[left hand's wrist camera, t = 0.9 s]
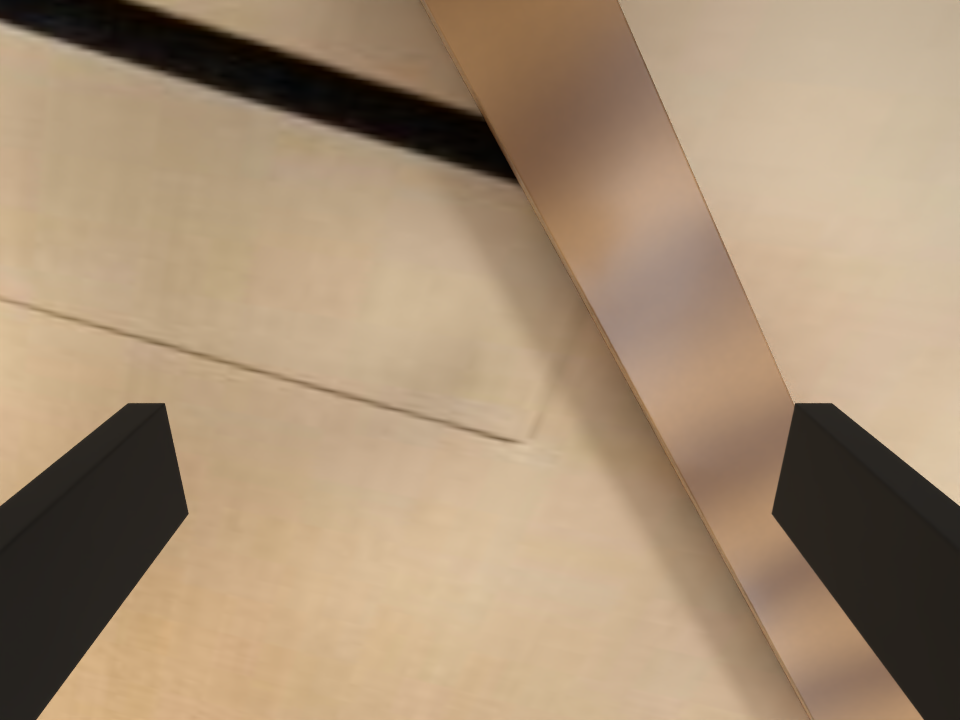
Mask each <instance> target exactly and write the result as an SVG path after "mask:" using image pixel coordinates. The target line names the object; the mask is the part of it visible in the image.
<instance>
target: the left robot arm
mask: <svg viewBox="0 0 960 720" xmlns="http://www.w3.org/2000/svg"><path fill="white" fill-rule="evenodd" d="M188 514H189V513H188V509H187V504H186V499H185V495H184V490H183V485H182V481H181V476H180V472H179V467H178V462H177V458H176V453H175V448H174V444H173V439H172V434H171V430H170V425H169V420H168V416H167V411H166V406H165V403H128V404H127V405H125V406H124V407H123V408H122V409H120V410H119V411H118V412H117V413H115V414H114V415H113V416H112V417H111V418H109V419H108V420H107V421H106V422H104V423H103V424H102V425H101V426H99V427H98V428H97V429H96V430H94V431H93V432H92V433H91V434H89V435H88V436H87V437H86V438H84V439H83V440H82V441H81V442H79V443H78V444H77V445H76V446H74V447H73V448H72V449H71V450H70V451H68V452H67V453H66V454H65V455H63V456H62V457H61V458H60V459H58V460H57V461H56V462H55V463H53V464H52V465H51V466H50V467H48V468H47V469H46V470H45V471H43V472H42V473H41V474H40V475H38V476H37V477H36V478H35V479H34V480H32V481H31V482H30V483H29V484H27V485H26V486H25V487H24V488H22V489H21V490H20V491H19V492H17V493H16V494H15V495H14V496H12V497H11V498H10V499H9V500H7V501H6V502H5V503H4V504H2V505H1V506H0V720H36V719H37V718H38V717H39V715H40V714H41V713H42V711H43V710H44V709H45V707H46V706H47V705H48V703H49V702H50V700H51V699H52V698H53V696H54V695H55V694H56V692H57V691H58V690H59V688H60V687H61V686H62V684H63V683H64V682H65V680H66V679H67V677H68V676H69V675H70V673H71V672H72V671H73V669H74V668H75V667H76V665H77V664H78V663H79V661H80V660H81V659H82V657H83V656H84V654H85V653H86V652H87V650H88V649H89V648H90V646H91V645H92V644H93V642H94V641H95V640H96V638H97V637H98V636H99V634H100V633H101V632H102V630H103V629H104V627H105V626H106V625H107V623H108V622H109V621H110V619H111V618H112V617H113V615H114V614H115V613H116V611H117V610H118V609H119V607H120V606H121V604H122V603H123V602H124V600H125V599H126V598H127V596H128V595H129V594H130V592H131V591H132V590H133V588H134V587H135V586H136V584H137V583H138V581H139V580H140V579H141V577H142V576H143V575H144V573H145V572H146V571H147V569H148V568H149V567H150V565H151V564H152V563H153V561H154V560H155V559H156V557H157V556H158V554H159V553H160V552H161V550H162V549H163V548H164V546H165V545H166V544H167V542H168V541H169V540H170V538H171V537H172V536H173V534H174V533H175V531H176V530H177V529H178V527H179V526H180V525H181V523H182V522H183V521H184V519H185V518H186V517H187V515H188ZM771 514H772V515H773V517H774V518H775V519H776V521H777V522H778V523H779V525H780V526H781V527H782V529H783V530H784V531H785V533H786V534H787V536H788V537H789V538H790V540H791V541H792V542H793V544H794V545H795V546H796V548H797V549H798V550H799V552H800V553H801V554H802V556H803V557H804V559H805V560H806V561H807V563H808V564H809V565H810V567H811V568H812V569H813V571H814V572H815V573H816V575H817V576H818V577H819V579H820V580H821V581H822V583H823V584H824V586H825V587H826V588H827V590H828V591H829V592H830V594H831V595H832V596H833V598H834V599H835V600H836V602H837V603H838V604H839V606H840V607H841V609H842V610H843V611H844V613H845V614H846V615H847V617H848V618H849V619H850V621H851V622H852V623H853V625H854V626H855V627H856V629H857V630H858V632H859V633H860V634H861V636H862V637H863V638H864V640H865V641H866V642H867V644H868V645H869V646H870V648H871V649H872V650H873V652H874V653H875V654H876V656H877V657H878V659H879V660H880V661H881V663H882V664H883V665H884V667H885V668H886V669H887V671H888V672H889V673H890V675H891V676H892V677H893V679H894V680H895V682H896V683H897V684H898V686H899V687H900V688H901V690H902V691H903V692H904V694H905V695H906V696H907V698H908V699H909V700H910V702H911V703H912V705H913V706H914V707H915V709H916V710H917V711H918V713H919V714H920V715H921V717H922V718H923V719H924V720H960V506H959V505H958V504H956V503H955V502H954V501H953V500H951V499H950V498H949V497H948V496H946V495H945V494H944V493H943V492H941V491H940V490H939V489H938V488H936V487H935V486H934V485H933V484H931V483H930V482H929V481H928V480H926V479H925V478H924V477H923V476H922V475H920V474H919V473H918V472H917V471H915V470H914V469H913V468H912V467H910V466H909V465H908V464H907V463H905V462H904V461H903V460H902V459H900V458H899V457H898V456H897V455H895V454H894V453H893V452H892V451H890V450H889V449H888V448H887V447H886V446H884V445H883V444H882V443H881V442H879V441H878V440H877V439H876V438H874V437H873V436H872V435H871V434H869V433H868V432H867V431H866V430H864V429H863V428H862V427H861V426H859V425H858V424H857V423H856V422H854V421H853V420H852V419H851V418H849V417H848V416H847V415H846V414H845V413H843V412H842V411H841V410H840V409H838V408H837V407H836V406H835V405H833V404H832V403H795V406H794V411H793V416H792V420H791V425H790V430H789V434H788V439H787V444H786V448H785V453H784V458H783V462H782V467H781V471H780V476H779V481H778V485H777V490H776V495H775V499H774V504H773V509H772V513H771Z"/></svg>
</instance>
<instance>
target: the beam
mask: <svg viewBox="0 0 960 720" xmlns="http://www.w3.org/2000/svg"><path fill="white" fill-rule="evenodd" d="M420 1H421V3H422V5H423V7H424V8H425V10H426V12H427V14H428V16H429V18H430V19H431V21H432V23H433V25H434V27H435V29H436V31H437V32H438V34H439V36H440V38H441V40H442V42H443V43H444V45H445V47H446V49H447V51H448V53H449V55H450V56H451V58H452V60H453V62H454V64H455V66H456V67H457V69H458V71H459V73H460V75H461V77H462V79H463V80H464V82H465V84H466V86H467V88H468V90H469V91H470V93H471V95H472V97H473V99H474V101H475V102H476V104H477V106H478V108H479V110H480V112H481V114H482V115H483V117H484V119H485V121H486V123H487V125H488V126H489V128H490V130H491V132H492V134H493V136H494V138H495V139H496V141H497V143H498V145H499V147H500V149H501V150H502V152H503V154H504V156H505V158H506V160H507V162H508V163H509V165H510V167H511V169H512V171H513V173H514V174H515V176H516V178H517V180H518V182H519V184H520V185H521V187H522V189H523V191H524V193H525V195H526V197H527V198H528V200H529V202H530V204H531V206H532V208H533V209H534V211H535V213H536V215H537V217H538V219H539V221H540V222H541V224H542V226H543V228H544V230H545V232H546V233H547V235H548V237H549V239H550V241H551V243H552V245H553V246H554V248H555V250H556V252H557V254H558V256H559V257H560V259H561V261H562V263H563V265H564V267H565V268H566V270H567V272H568V274H569V276H570V278H571V280H572V281H573V283H574V285H575V287H576V289H577V291H578V292H579V294H580V296H581V298H582V300H583V302H584V304H585V305H586V307H587V309H588V311H589V313H590V315H591V316H592V318H593V320H594V322H595V324H596V326H597V328H598V329H599V331H600V333H601V335H602V337H603V339H604V340H605V342H606V344H607V346H608V348H609V350H610V351H611V353H612V355H613V357H614V359H615V361H616V363H617V364H618V366H619V368H620V370H621V372H622V374H623V375H624V377H625V379H626V381H627V383H628V385H629V387H630V388H631V390H632V392H633V394H634V396H635V398H636V399H637V401H638V403H639V405H640V407H641V409H642V411H643V412H644V414H645V416H646V418H647V420H648V422H649V423H650V425H651V427H652V429H653V431H654V433H655V434H656V436H657V438H658V440H659V442H660V444H661V446H662V447H663V449H664V451H665V453H666V455H667V457H668V458H669V460H670V462H671V464H672V466H673V468H674V470H675V471H676V473H677V475H678V477H679V479H680V481H681V482H682V484H683V486H684V488H685V490H686V492H687V494H688V495H689V497H690V499H691V501H692V503H693V505H694V506H695V508H696V510H697V512H698V514H699V516H700V517H701V519H702V521H703V523H704V525H705V527H706V529H707V530H708V532H709V534H710V536H711V538H712V540H713V541H714V543H715V545H716V547H717V549H718V551H719V553H720V554H721V556H722V558H723V560H724V562H725V564H726V565H727V567H728V569H729V571H730V573H731V575H732V577H733V578H734V580H735V582H736V584H737V586H738V588H739V589H740V591H741V593H742V595H743V597H744V599H745V600H746V602H747V604H748V606H749V608H750V610H751V612H752V613H753V615H754V617H755V619H756V621H757V623H758V624H759V626H760V628H761V630H762V632H763V634H764V636H765V637H766V639H767V641H768V643H769V645H770V647H771V648H772V650H773V652H774V654H775V656H776V658H777V660H778V661H779V663H780V665H781V667H782V669H783V671H784V672H785V674H786V676H787V678H788V680H789V682H790V683H791V685H792V687H793V689H794V691H795V693H796V695H797V696H798V698H799V700H800V702H801V704H802V706H803V707H804V709H805V711H806V713H807V715H808V717H809V719H810V720H924V719H923V718H922V717H921V715H920V714H919V713H918V711H917V710H916V709H915V707H914V706H913V705H912V703H911V702H910V700H909V699H908V698H907V696H906V695H905V694H904V692H903V691H902V690H901V688H900V687H899V686H898V684H897V683H896V682H895V680H894V679H893V677H892V676H891V675H890V673H889V672H888V671H887V669H886V668H885V667H884V665H883V664H882V663H881V661H880V660H879V659H878V657H877V656H876V654H875V653H874V652H873V650H872V649H871V648H870V646H869V645H868V644H867V642H866V641H865V640H864V638H863V637H862V636H861V634H860V633H859V632H858V630H857V629H856V627H855V626H854V625H853V623H852V622H851V621H850V619H849V618H848V617H847V615H846V614H845V613H844V611H843V610H842V609H841V607H840V606H839V604H838V603H837V602H836V600H835V599H834V598H833V596H832V595H831V594H830V592H829V591H828V590H827V588H826V587H825V586H824V584H823V583H822V581H821V580H820V579H819V577H818V576H817V575H816V573H815V572H814V571H813V569H812V568H811V567H810V565H809V564H808V563H807V561H806V560H805V559H804V557H803V556H802V554H801V553H800V552H799V550H798V549H797V548H796V546H795V545H794V544H793V542H792V541H791V540H790V538H789V537H788V536H787V534H786V533H785V531H784V530H783V529H782V527H781V526H780V525H779V523H778V522H777V521H776V519H775V518H774V517H773V515H772V514H771V513H772V509H773V504H774V499H775V495H776V490H777V485H778V481H779V476H780V471H781V467H782V462H783V458H784V453H785V448H786V444H787V439H788V434H789V430H790V425H791V420H792V416H793V411H794V404H793V401H792V399H791V397H790V394H789V392H788V390H787V388H786V385H785V383H784V381H783V378H782V376H781V374H780V371H779V369H778V367H777V365H776V362H775V360H774V358H773V355H772V353H771V351H770V349H769V346H768V344H767V342H766V339H765V337H764V335H763V333H762V330H761V328H760V326H759V323H758V321H757V319H756V316H755V314H754V312H753V310H752V307H751V305H750V303H749V300H748V298H747V296H746V294H745V291H744V289H743V287H742V284H741V282H740V280H739V278H738V275H737V273H736V271H735V268H734V266H733V264H732V261H731V259H730V257H729V255H728V252H727V250H726V248H725V245H724V243H723V241H722V239H721V236H720V234H719V232H718V229H717V227H716V225H715V222H714V220H713V218H712V216H711V213H710V211H709V209H708V206H707V204H706V202H705V200H704V197H703V195H702V193H701V190H700V188H699V186H698V184H697V181H696V179H695V177H694V174H693V172H692V170H691V167H690V165H689V163H688V161H687V158H686V156H685V154H684V151H683V149H682V147H681V145H680V142H679V140H678V138H677V135H676V133H675V131H674V128H673V126H672V124H671V122H670V119H669V117H668V115H667V112H666V110H665V108H664V106H663V103H662V101H661V99H660V96H659V94H658V92H657V90H656V87H655V85H654V83H653V80H652V78H651V76H650V73H649V71H648V69H647V67H646V64H645V62H644V60H643V57H642V55H641V53H640V51H639V48H638V46H637V44H636V41H635V39H634V37H633V35H632V32H631V30H630V28H629V25H628V23H627V21H626V18H625V16H624V14H623V12H622V9H621V7H620V5H619V2H618V0H420Z"/></svg>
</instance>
